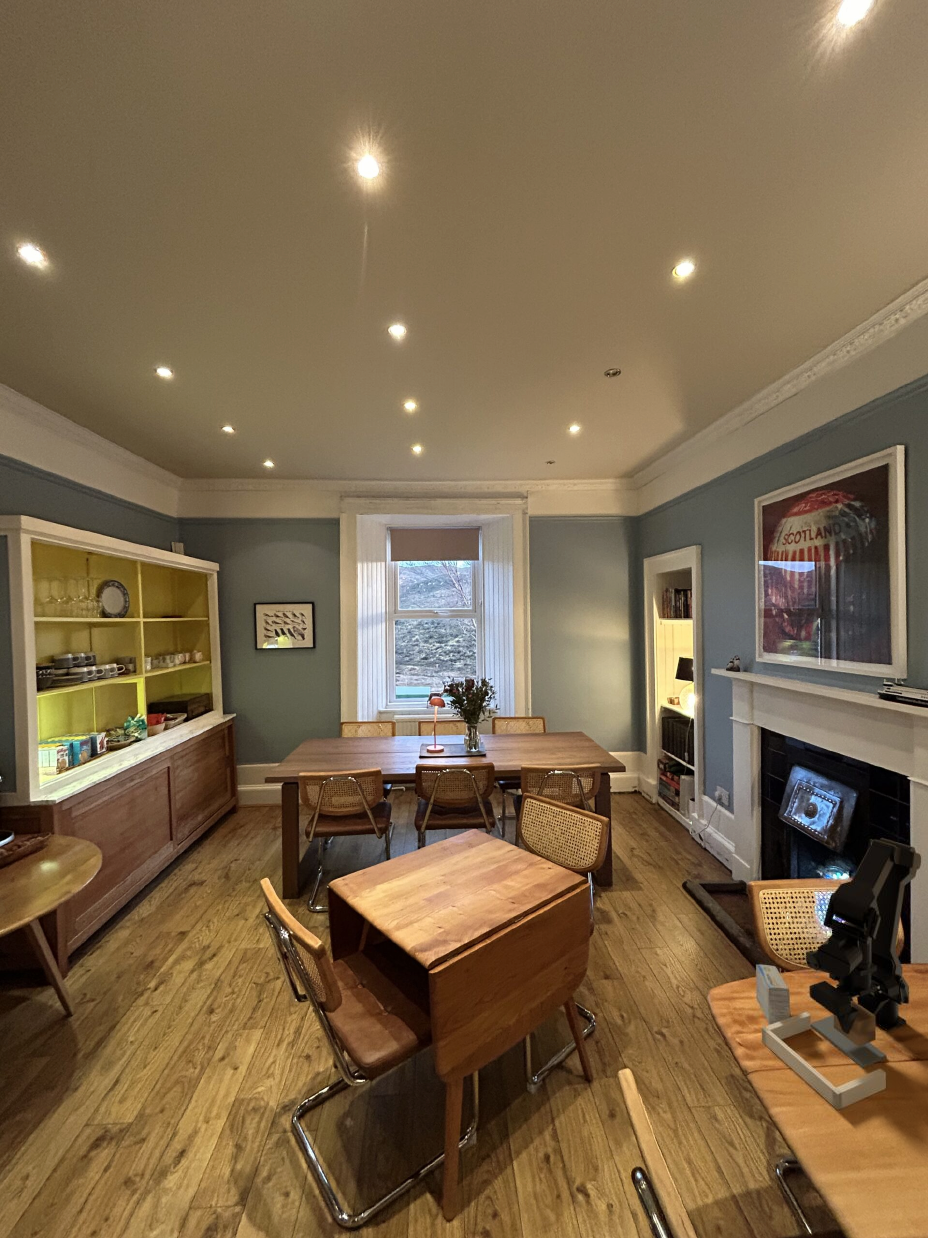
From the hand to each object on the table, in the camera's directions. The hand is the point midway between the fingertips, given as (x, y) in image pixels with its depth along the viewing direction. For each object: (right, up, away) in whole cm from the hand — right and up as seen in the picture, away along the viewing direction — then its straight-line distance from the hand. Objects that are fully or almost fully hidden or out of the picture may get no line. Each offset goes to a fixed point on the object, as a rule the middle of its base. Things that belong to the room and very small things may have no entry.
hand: (854, 1029), depth 107 cm
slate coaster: (0, -4, +2) cm, 5 cm away
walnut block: (0, -1, 0) cm, 1 cm away
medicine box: (-11, -5, +10) cm, 16 cm away
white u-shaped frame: (-9, -5, -3) cm, 11 cm away
